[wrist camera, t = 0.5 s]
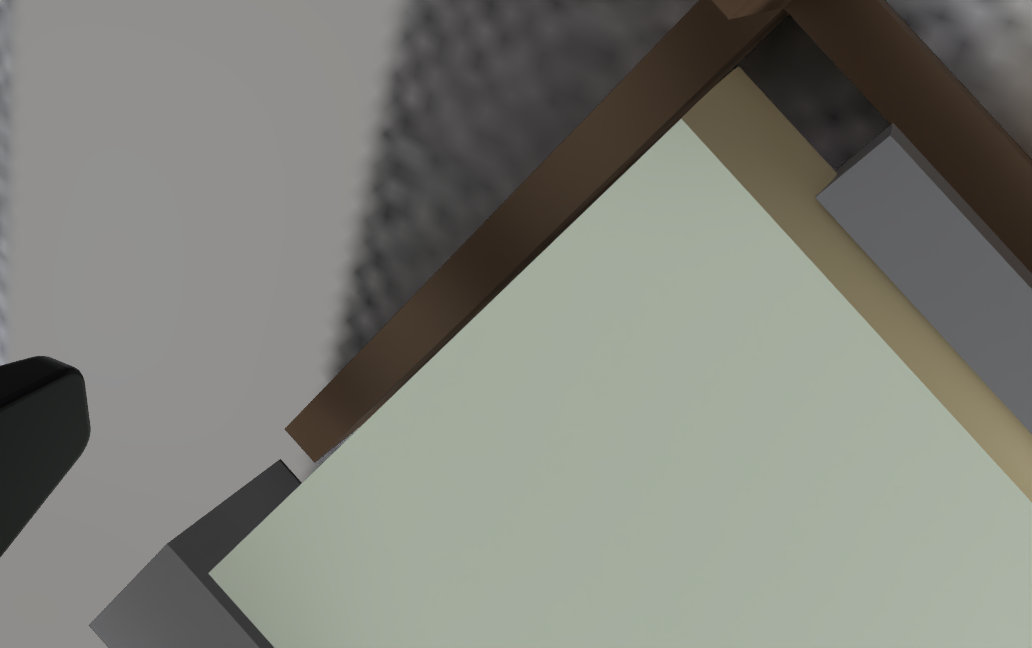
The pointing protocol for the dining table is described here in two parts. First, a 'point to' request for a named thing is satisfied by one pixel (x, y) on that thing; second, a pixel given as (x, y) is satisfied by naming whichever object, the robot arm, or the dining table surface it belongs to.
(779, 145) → the trapdoor
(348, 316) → the dining table surface
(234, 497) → the gray cube
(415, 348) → the frame
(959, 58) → the dining table surface
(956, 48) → the dining table surface
